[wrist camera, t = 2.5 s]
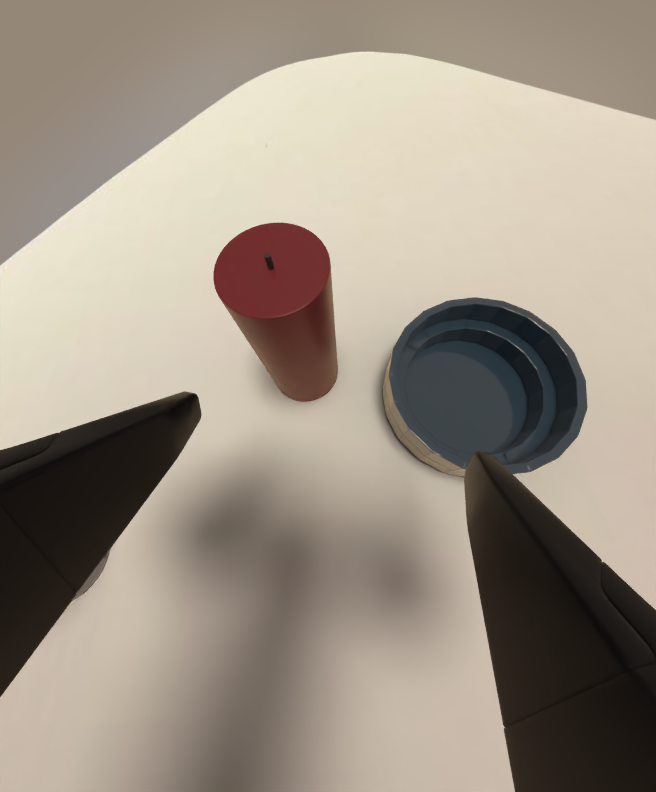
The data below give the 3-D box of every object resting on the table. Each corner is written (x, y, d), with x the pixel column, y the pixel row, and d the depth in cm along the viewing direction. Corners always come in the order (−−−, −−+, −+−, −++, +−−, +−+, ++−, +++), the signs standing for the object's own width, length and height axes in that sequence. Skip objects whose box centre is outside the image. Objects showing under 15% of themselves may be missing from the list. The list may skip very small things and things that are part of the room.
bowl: (431, 506, 21) (453, 510, 17) (356, 364, 25) (358, 338, 21) (577, 435, 22) (631, 422, 18) (483, 308, 26) (509, 273, 22)
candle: (288, 412, 24) (226, 328, 12) (265, 357, 26) (191, 234, 14) (348, 385, 25) (350, 277, 12) (322, 333, 26) (300, 192, 14)
